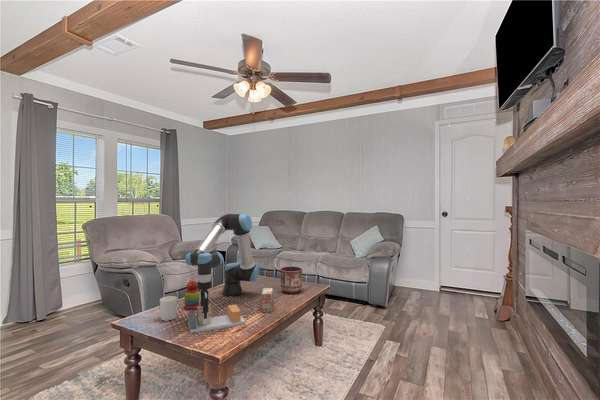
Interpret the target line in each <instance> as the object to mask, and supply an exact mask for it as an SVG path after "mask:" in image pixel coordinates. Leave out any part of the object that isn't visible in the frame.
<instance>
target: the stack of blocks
mask: <svg viewBox="0 0 600 400" xmlns="http://www.w3.org/2000/svg"><path fill="white" fill-rule="evenodd" d="M273 290H274V289H273V287H269V288H268V287H264V288H262V292H261V313H266V314H267V313H272V309H273V304H274V303H273V302H274V298H273V297H274V291H273Z"/></svg>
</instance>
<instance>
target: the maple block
mask: <svg viewBox="0 0 600 400" xmlns="http://www.w3.org/2000/svg"><path fill="white" fill-rule="evenodd" d="M196 310H197V311H196V312H197V316H196V320H197V323H198V326H201V325H207V324H203V313H202V312H203V306H200V307H197V309H196ZM208 311H209V312H208V324H211V317H212V306H211V305H210V304H208Z"/></svg>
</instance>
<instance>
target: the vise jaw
mask: <svg viewBox="0 0 600 400" xmlns="http://www.w3.org/2000/svg"><path fill="white" fill-rule="evenodd" d="M241 314H242V311H241V309H240V308H239V306H238V305H237V304H236V303H235V304H229V305H227V315H228V317H229V318H230V320H231V322H232V323H234V322H240V321H241V316H242V315H241Z"/></svg>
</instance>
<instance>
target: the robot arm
mask: <svg viewBox="0 0 600 400" xmlns="http://www.w3.org/2000/svg"><path fill="white" fill-rule="evenodd" d="M252 221H253V220H252V218H251V216H250V215H249V214H244V213H227V214H224V215H222V216H220V217H219V218H217V219H216V220H215V221H214V223H213V224H212V226H211V229H210V230H209V231H208V233H207V234H206V235H205V236H204V238H203V239H202V240H201V242H200V243H199V244H198V246H197V247H196V248H195V250H194V251H193V252H189V253H187V254H186V255H185V257H184V261H185V264H186V265H187V266H193V267H197V275H196V279H197V281H198V282H197V284H198V288H197V290H199V291H200V292H199V294H200V303H199V305H201V306H203V312H202V313H203V324H208V312H209V311H208V305H209V291H208V290H209V289H211V288H212V278H213V277H212V269H213V268H217V267H219V266H222V265H223V263H224V257H223V255H222V254H221V253H218V252H217V253H214V254H213V253H212V254H211V253H209V252H210V251H211V249H212V248H213V247H214V245H215V244H216V242H217V241H218V239H219V238H220V237H221V235H223V234H224V233H226V231H233V235H234V236H236V241H237V246H238V247H237V248H238V252H239V258H240V262H239V261H237V262H230V263H227V264H225V266H224V285H223V288H222V296H225V297H237V296H241V295H242V294H243V288H242V285H241V281H242V282H249V283H251V282H256V281H257V280H258V278H259V275H260V266H258V265H257V264H256V262H255V261H254V260H253V254H252V247H251V242H250V237H249V233H250V232H251V230H252V228H253V226H252V225H253V222H252Z"/></svg>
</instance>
